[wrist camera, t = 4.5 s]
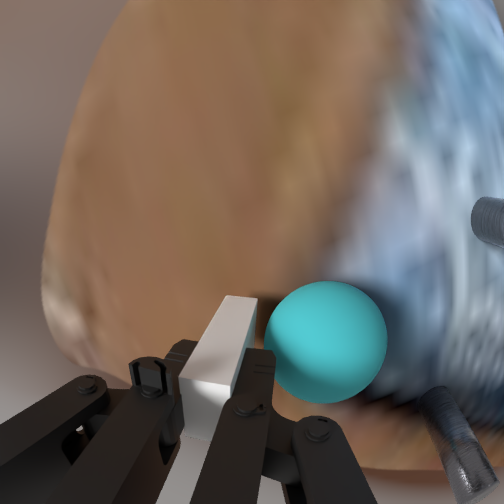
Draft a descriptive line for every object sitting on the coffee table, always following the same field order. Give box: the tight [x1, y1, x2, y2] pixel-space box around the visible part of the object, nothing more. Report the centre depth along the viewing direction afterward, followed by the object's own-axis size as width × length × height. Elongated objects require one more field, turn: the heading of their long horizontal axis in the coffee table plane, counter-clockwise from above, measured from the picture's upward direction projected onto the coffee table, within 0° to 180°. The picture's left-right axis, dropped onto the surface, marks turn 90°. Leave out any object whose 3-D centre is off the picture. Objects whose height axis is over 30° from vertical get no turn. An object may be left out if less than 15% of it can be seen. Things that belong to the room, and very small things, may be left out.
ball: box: [264, 281, 387, 403], centre depth 12 cm, size 6×6×6 cm
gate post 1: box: [417, 386, 500, 504], centre depth 11 cm, size 2×2×9 cm
